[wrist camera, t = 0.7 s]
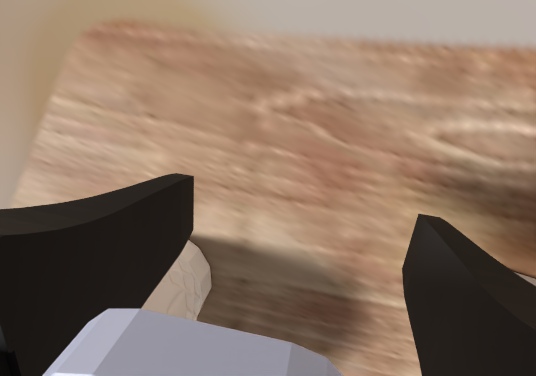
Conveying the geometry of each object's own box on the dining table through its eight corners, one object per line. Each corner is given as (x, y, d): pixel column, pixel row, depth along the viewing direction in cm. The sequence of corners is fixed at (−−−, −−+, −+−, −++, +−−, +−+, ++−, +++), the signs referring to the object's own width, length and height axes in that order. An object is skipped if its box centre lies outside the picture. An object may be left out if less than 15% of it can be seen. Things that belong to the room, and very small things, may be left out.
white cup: (167, 337, 28) (77, 469, 19) (95, 258, 27) (-35, 355, 18) (243, 286, 26) (184, 410, 16) (167, 197, 25) (58, 273, 15)
